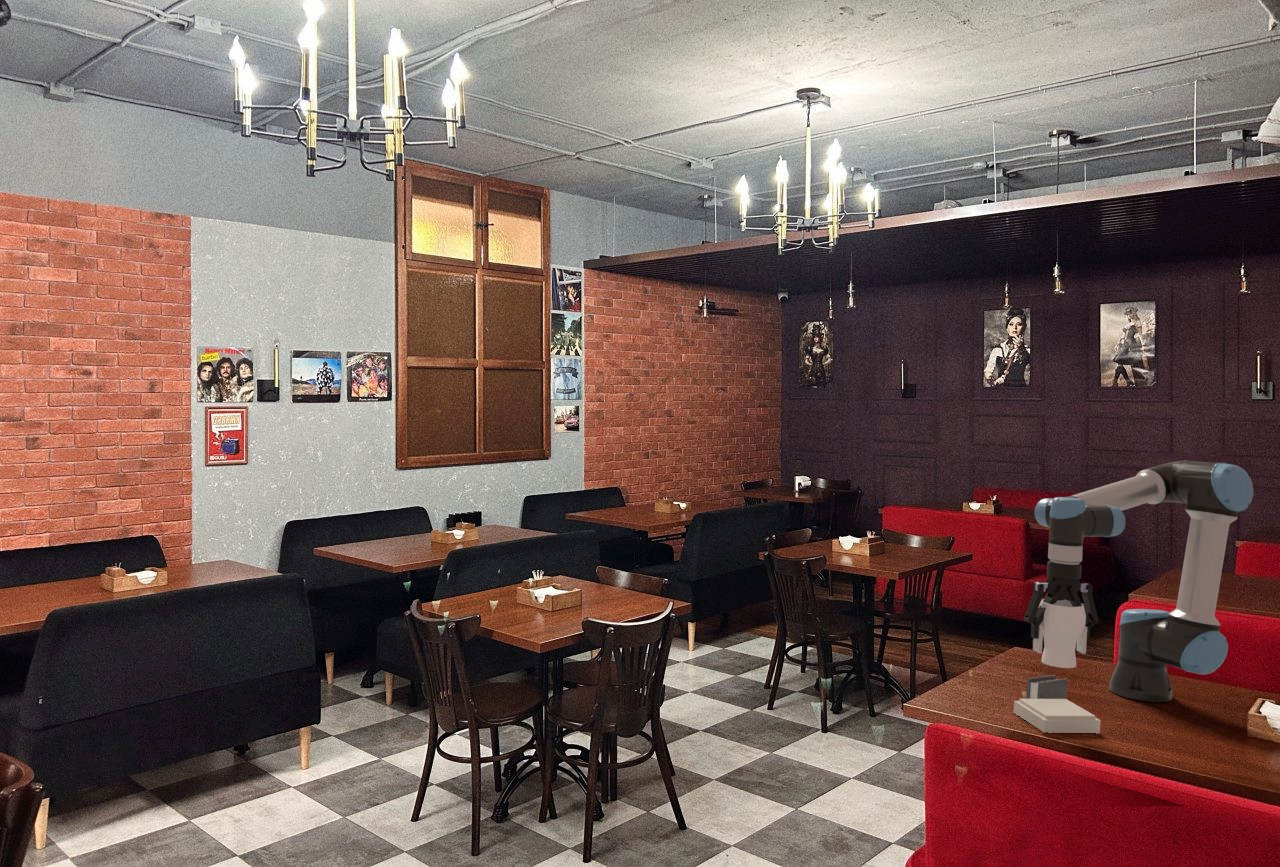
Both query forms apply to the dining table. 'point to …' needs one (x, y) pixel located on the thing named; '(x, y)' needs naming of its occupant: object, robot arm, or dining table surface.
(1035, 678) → the napkin holder
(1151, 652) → the robot arm
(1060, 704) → the pedestal
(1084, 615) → the cup
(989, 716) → the dining table surface
